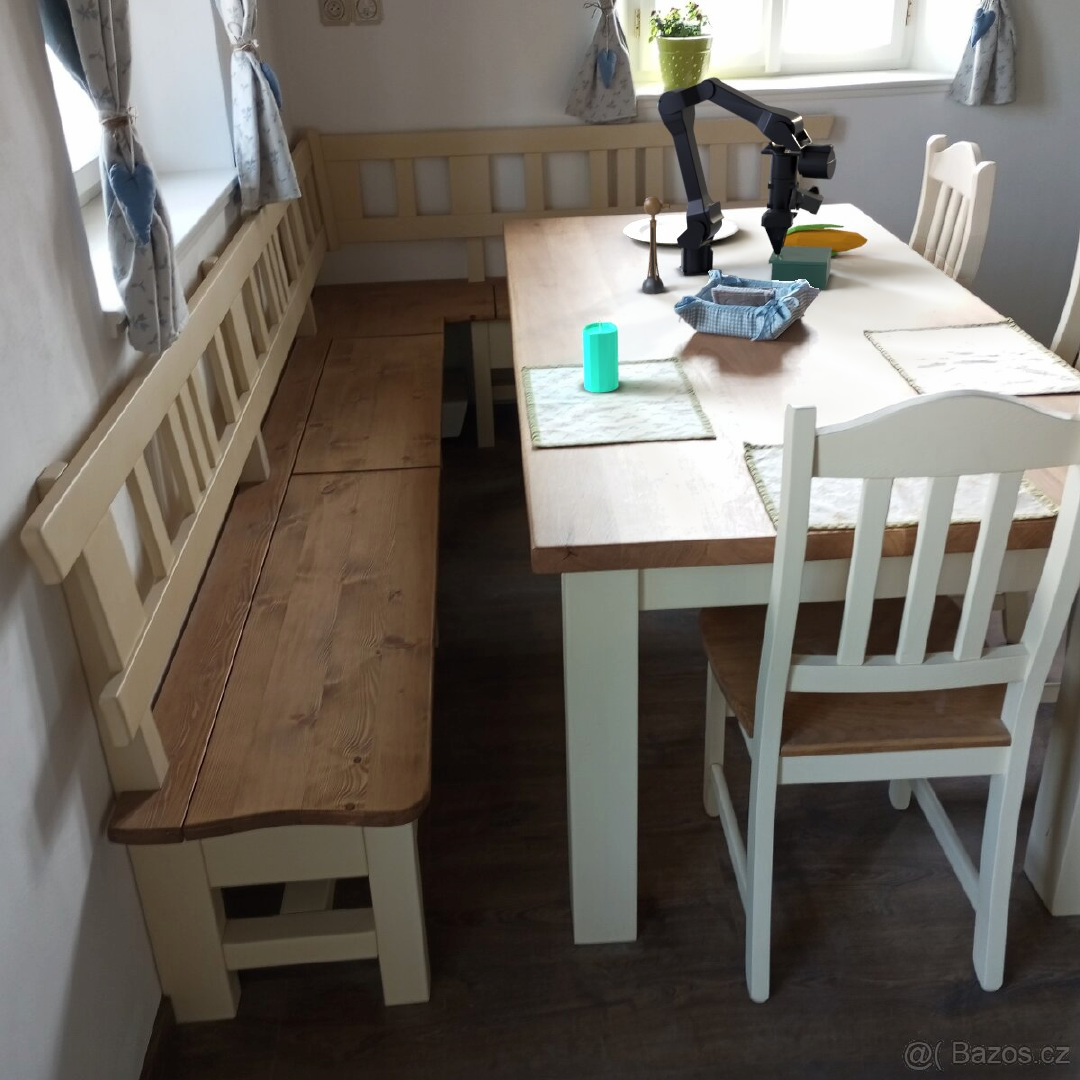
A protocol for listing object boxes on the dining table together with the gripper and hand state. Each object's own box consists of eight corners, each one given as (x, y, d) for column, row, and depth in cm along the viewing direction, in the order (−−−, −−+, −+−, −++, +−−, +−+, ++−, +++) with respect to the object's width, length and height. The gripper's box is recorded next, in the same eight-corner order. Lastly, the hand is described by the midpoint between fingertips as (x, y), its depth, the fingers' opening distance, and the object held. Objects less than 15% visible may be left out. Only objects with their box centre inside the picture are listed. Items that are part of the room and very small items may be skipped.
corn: (779, 219, 256) (866, 217, 254) (777, 251, 260) (863, 249, 258) (781, 229, 250) (871, 227, 248) (779, 261, 254) (867, 260, 252)
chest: (770, 288, 235) (772, 264, 233) (777, 272, 245) (778, 249, 243) (825, 290, 232) (826, 265, 229) (829, 274, 242) (831, 250, 240)
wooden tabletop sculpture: (670, 287, 239) (671, 194, 229) (666, 294, 235) (667, 199, 225) (644, 287, 240) (643, 194, 231) (639, 293, 237) (639, 198, 227)
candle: (597, 377, 193) (596, 311, 187) (625, 384, 190) (624, 317, 184) (577, 388, 189) (574, 321, 183) (605, 395, 186) (603, 326, 180)
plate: (756, 227, 282) (756, 219, 282) (709, 254, 261) (709, 246, 260) (655, 218, 297) (655, 211, 296) (603, 243, 275) (602, 236, 275)
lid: (768, 263, 233) (769, 245, 231) (775, 248, 243) (776, 231, 241) (827, 265, 229) (828, 247, 227) (831, 250, 240) (833, 232, 238)
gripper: (818, 186, 219) (813, 263, 227) (826, 168, 235) (820, 241, 242) (762, 185, 223) (759, 262, 230) (773, 168, 238) (770, 240, 246)
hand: (779, 251), depth 237 cm, fingers open, 5 cm apart
